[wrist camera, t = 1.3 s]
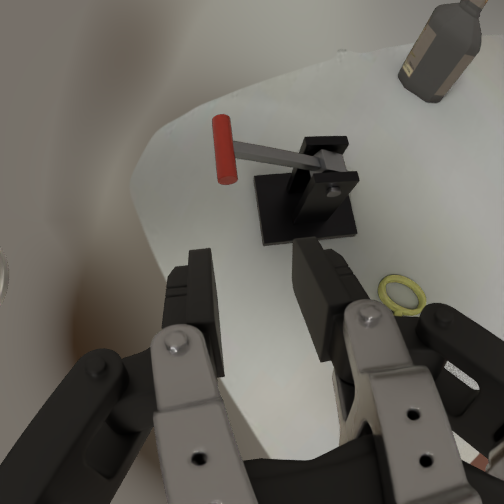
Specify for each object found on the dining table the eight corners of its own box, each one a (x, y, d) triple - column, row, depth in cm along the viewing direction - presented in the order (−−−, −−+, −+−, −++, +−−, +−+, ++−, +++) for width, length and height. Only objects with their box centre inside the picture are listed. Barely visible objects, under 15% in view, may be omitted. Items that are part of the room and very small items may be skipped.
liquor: (442, 85, 50) (515, -16, 21) (435, 110, 48) (522, -2, 19) (404, 60, 51) (466, -51, 22) (393, 82, 49) (465, -43, 20)
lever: (212, 186, 25) (224, 172, 23) (207, 125, 27) (218, 109, 25) (336, 200, 32) (352, 191, 30) (323, 149, 33) (338, 138, 31)
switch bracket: (263, 246, 40) (277, 207, 27) (253, 179, 42) (261, 121, 29) (354, 236, 41) (399, 198, 28) (339, 173, 43) (374, 120, 31)
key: (372, 370, 37) (379, 371, 35) (377, 274, 40) (384, 270, 38) (419, 368, 37) (427, 369, 35) (422, 278, 40) (430, 275, 38)
